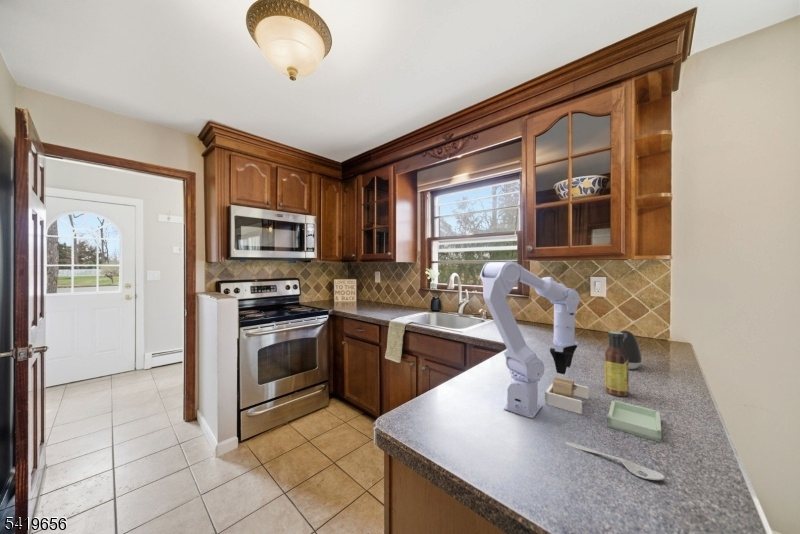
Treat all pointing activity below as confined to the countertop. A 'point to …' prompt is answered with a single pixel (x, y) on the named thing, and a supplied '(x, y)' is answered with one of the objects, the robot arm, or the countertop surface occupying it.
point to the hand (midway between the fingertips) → (563, 370)
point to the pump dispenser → (631, 350)
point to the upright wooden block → (564, 387)
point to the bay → (567, 399)
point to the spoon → (629, 465)
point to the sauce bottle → (616, 366)
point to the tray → (635, 420)
